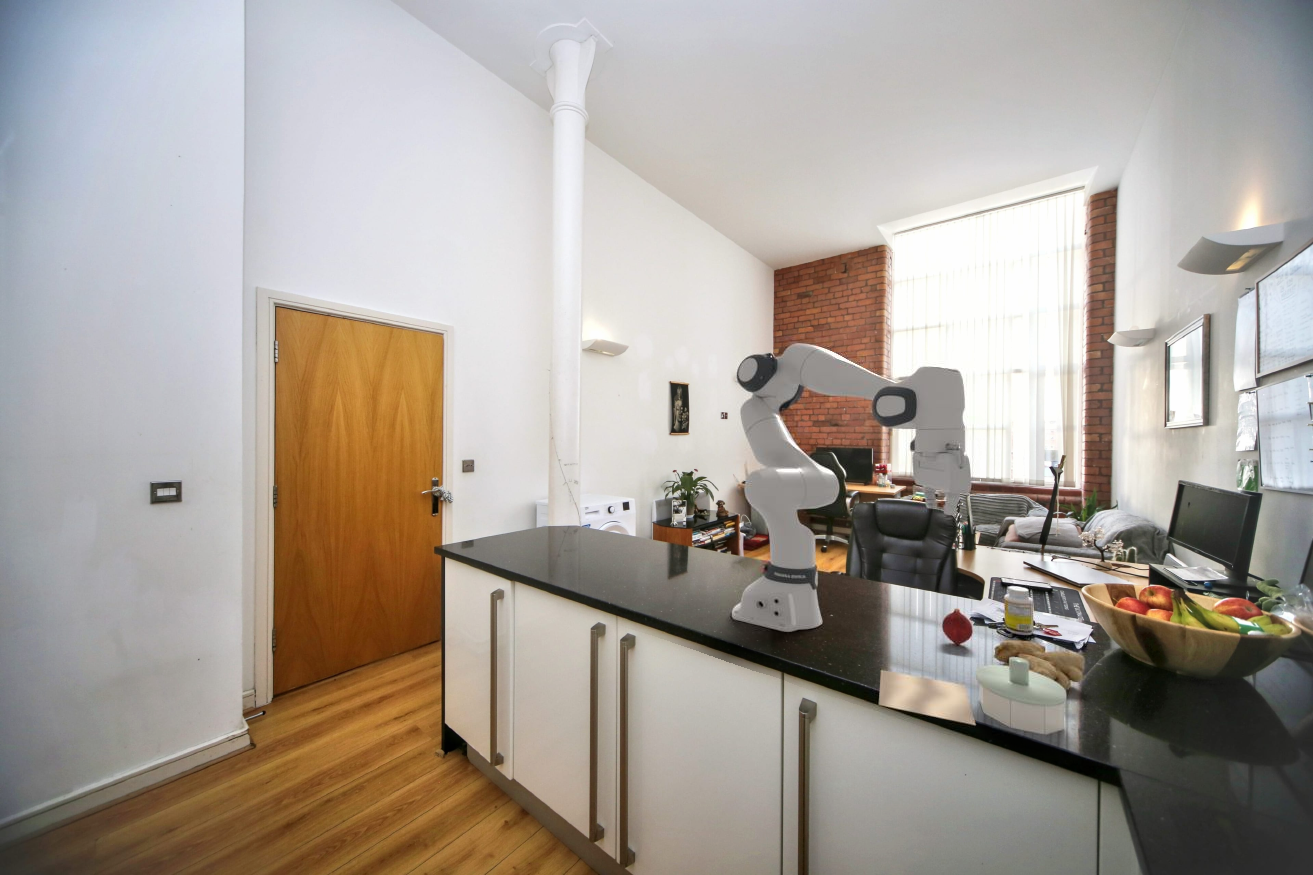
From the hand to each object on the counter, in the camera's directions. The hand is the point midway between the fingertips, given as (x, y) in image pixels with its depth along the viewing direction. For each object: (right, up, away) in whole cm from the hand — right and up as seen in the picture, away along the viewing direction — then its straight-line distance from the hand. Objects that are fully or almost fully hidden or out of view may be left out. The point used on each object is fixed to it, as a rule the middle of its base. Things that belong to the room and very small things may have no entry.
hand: (940, 511), depth 101 cm
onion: (+9, -31, +9) cm, 34 cm away
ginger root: (+14, -31, -7) cm, 35 cm away
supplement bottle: (+28, -31, +16) cm, 45 cm away
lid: (+2, -26, -20) cm, 33 cm away
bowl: (+2, -31, -20) cm, 37 cm away
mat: (-11, -31, -14) cm, 36 cm away
